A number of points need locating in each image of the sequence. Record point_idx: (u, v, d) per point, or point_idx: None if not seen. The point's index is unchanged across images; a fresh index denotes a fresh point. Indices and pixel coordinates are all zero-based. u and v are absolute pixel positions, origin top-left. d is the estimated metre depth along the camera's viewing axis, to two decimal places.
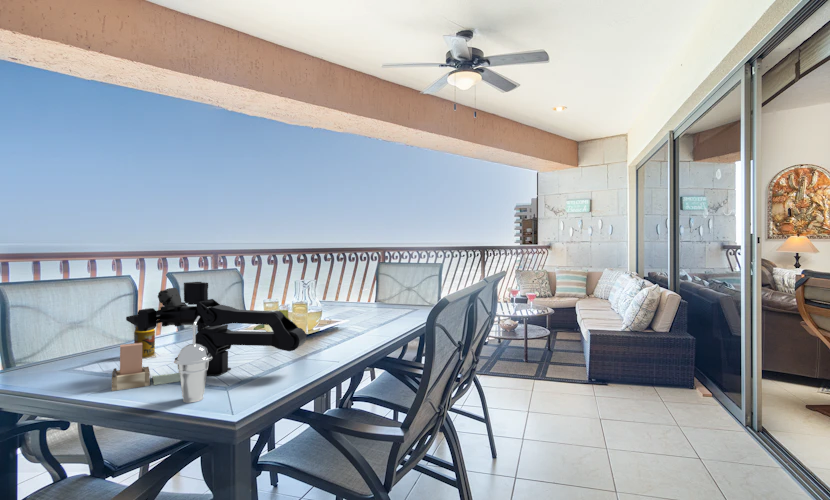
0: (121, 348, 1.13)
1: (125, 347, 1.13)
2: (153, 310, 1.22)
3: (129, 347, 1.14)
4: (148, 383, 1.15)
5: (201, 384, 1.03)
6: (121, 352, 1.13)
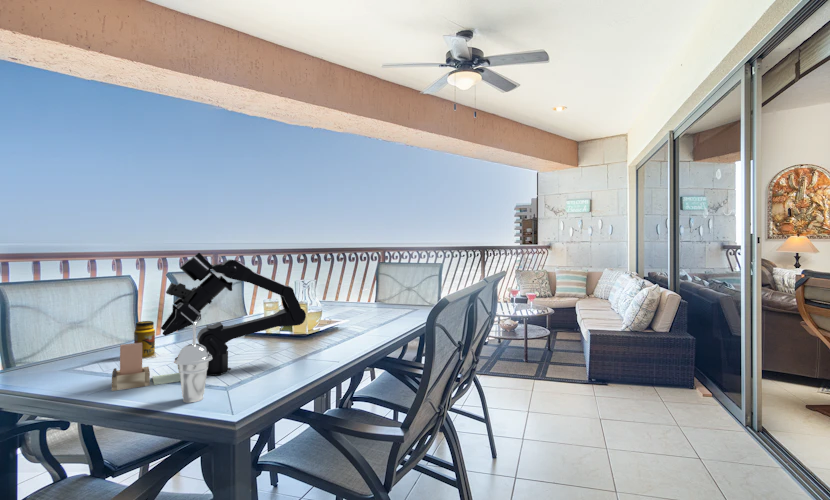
0: (121, 348, 1.13)
1: (125, 347, 1.13)
2: (186, 303, 1.17)
3: (129, 347, 1.14)
4: (148, 383, 1.15)
5: (201, 384, 1.03)
6: (121, 352, 1.13)
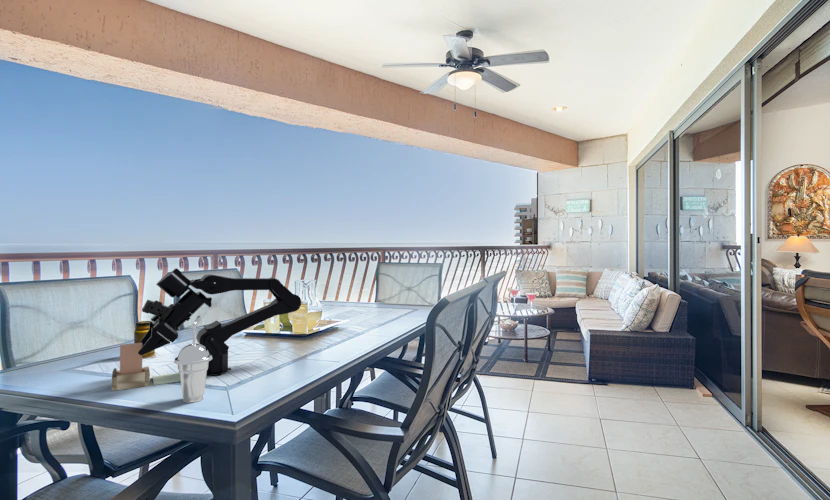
0: (121, 348, 1.13)
1: (125, 347, 1.13)
2: (162, 321, 1.14)
3: (129, 347, 1.14)
4: (148, 383, 1.15)
5: (201, 384, 1.03)
6: (121, 352, 1.13)
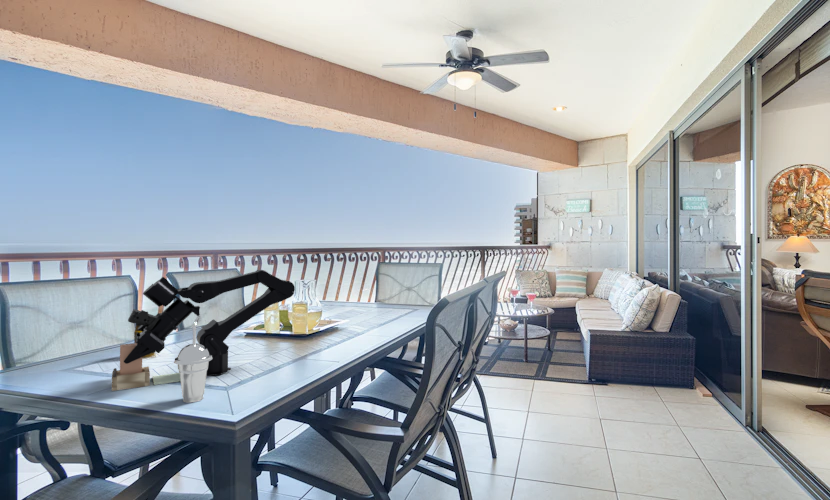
0: (121, 348, 1.13)
1: (125, 347, 1.13)
2: (148, 331, 1.12)
3: (129, 347, 1.14)
4: (148, 383, 1.15)
5: (201, 384, 1.03)
6: (121, 352, 1.13)
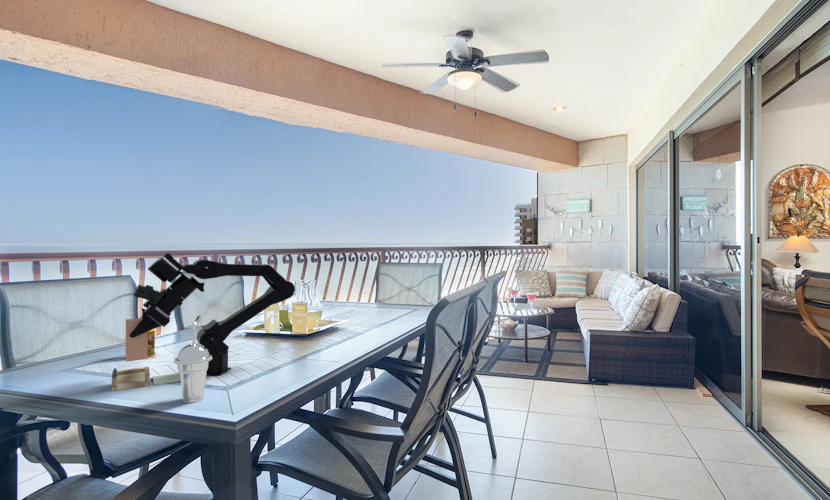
0: (127, 322, 1.14)
1: (130, 321, 1.14)
2: (154, 305, 1.13)
3: (134, 321, 1.15)
4: (148, 383, 1.15)
5: (201, 384, 1.03)
6: (127, 326, 1.14)
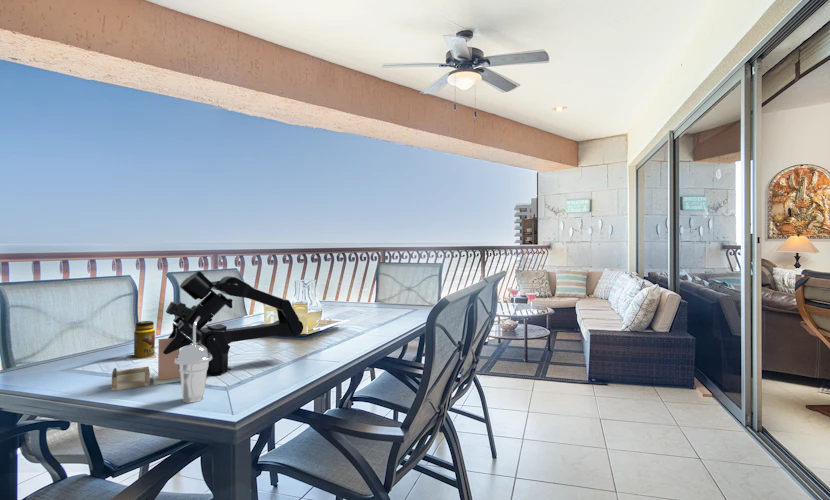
0: (160, 342, 1.18)
1: (164, 341, 1.19)
2: (187, 322, 1.17)
3: (167, 341, 1.19)
4: (148, 383, 1.15)
5: (201, 384, 1.03)
6: (160, 346, 1.18)
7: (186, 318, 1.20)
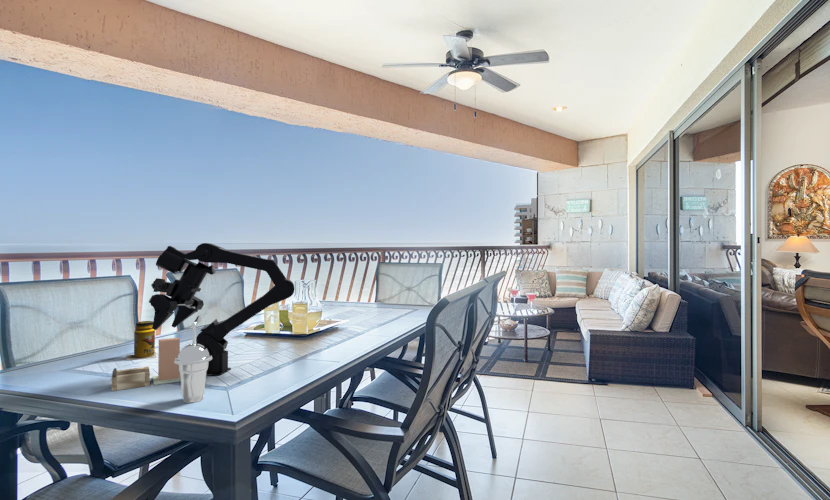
0: (160, 342, 1.18)
1: (164, 342, 1.18)
2: (160, 294, 1.19)
3: (167, 342, 1.19)
4: (148, 383, 1.15)
5: (201, 384, 1.03)
6: (160, 346, 1.18)
7: (168, 292, 1.22)
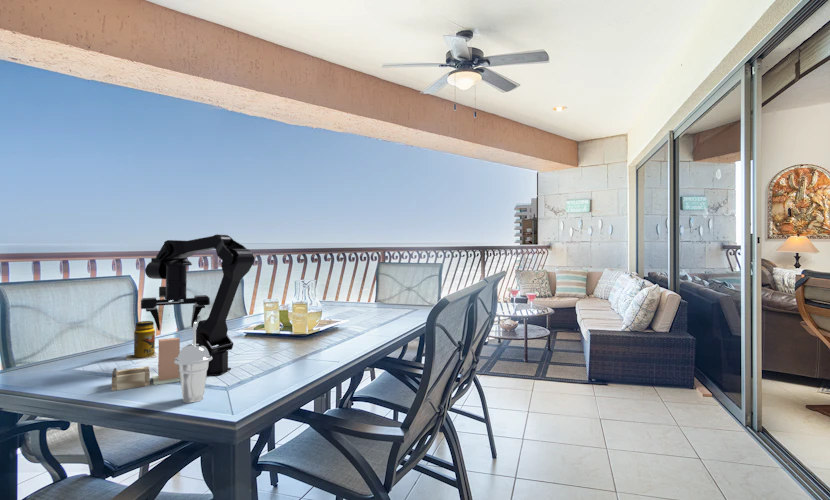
0: (160, 342, 1.18)
1: (164, 342, 1.18)
2: None
3: (167, 342, 1.19)
4: (148, 383, 1.15)
5: (201, 384, 1.03)
6: (160, 346, 1.18)
7: (164, 295, 1.34)
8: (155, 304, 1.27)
